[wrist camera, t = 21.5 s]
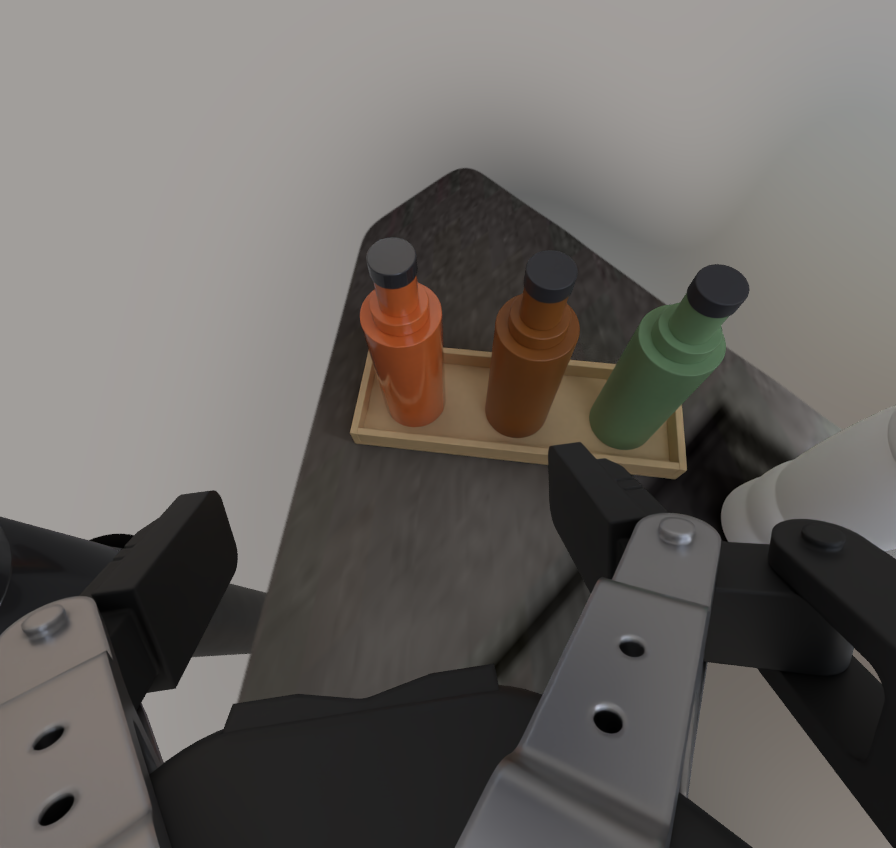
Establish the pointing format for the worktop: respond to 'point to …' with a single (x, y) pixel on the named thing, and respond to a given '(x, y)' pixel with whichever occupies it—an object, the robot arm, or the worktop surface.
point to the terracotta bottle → (404, 335)
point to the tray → (474, 436)
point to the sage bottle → (667, 359)
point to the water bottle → (825, 487)
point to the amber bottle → (532, 346)
